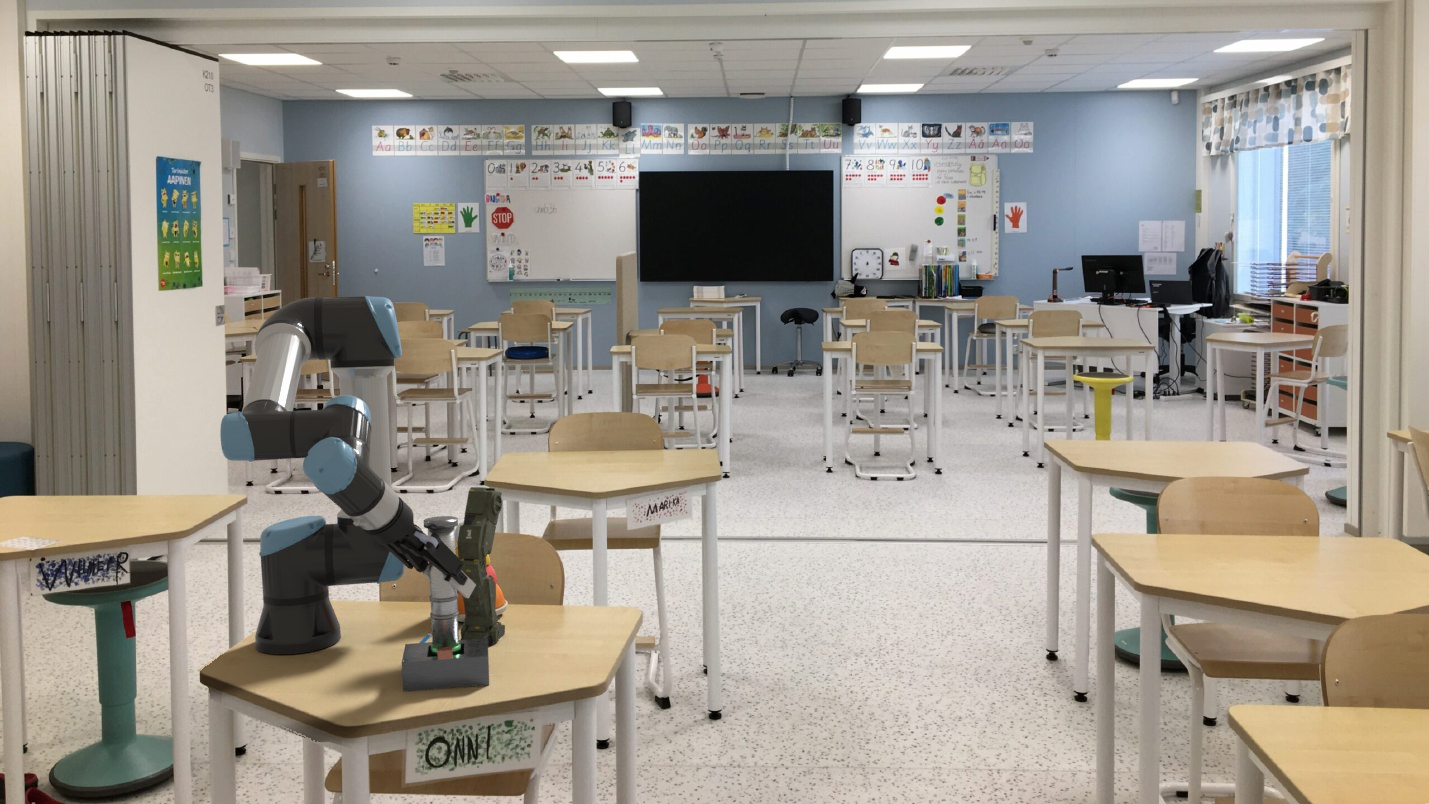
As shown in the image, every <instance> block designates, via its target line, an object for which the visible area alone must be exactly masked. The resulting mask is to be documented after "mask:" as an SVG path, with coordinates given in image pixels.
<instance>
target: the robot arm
mask: <svg viewBox="0 0 1429 804" xmlns="http://www.w3.org/2000/svg"><path fill="white" fill-rule="evenodd" d="M398 324H399V323H398V321H397V315H396V310H395V307H394V304H393V302H392V300H390V299H389V298H387V297H384V296H371V295H369V296H368V295H365V296H364V295H363V296H332V297H330V296H329V297H328V296H327V297H305V298H300V299H297V300H295V301H291V302H289V303H287V304H286V305H283V306H282V307H280V308H279V309H277V310H276V311H275V312H273V313H272V314H271V315H270V316H269V317H268V318H267V319H266V320H265V321H264V322H263V323H262V325H261V326H260V328H259V329H258V331H257V334H256V336H255V341H254V352H255V355H256V360H255V362H254V363H255V364H254V365H253V366H254V367H253V371H252V374H251V378H250V381H249V386H248V388H247V391H246V396H245V399H244V403H243V407H242V410H241V411H237V412H233V413H231V412H230V413H227V414H225V415H224V416H223V417H222V419H221V422H220V430H219V431H220V434H219V436H220V446H221V451H222V454H223V456H224V458H225V459H227V460H228V461H231V462H232V461H233V462H234V461H235V462H236V461H237V462H238V461H240V462H241V461H245V462H246V461H247V462H254V461H269V460H270V461H272V460H287V459H288V460H289V459H303V461H302V462H303V463H302V470H303V473H304V474H305V476H306V477H307V479H309V481H310V482H311V484H313V485H314V487H315V488H316V489H317V490H318V491H319V492H321V493H322V494H324V495H325V496H326V497H328V499H329V500H331V502H332V503H334V504H335V505H336V506H337V507H338V508H340V510H339V511H338V513H337V514H336V520H337V523H327V520H326V518H325V517H324V516H322V515H307V516H305V515H304V516H300V517H295V518H290V519H285V520H282V521H278V522H276V523H272V524H271V525H269V526H267V527H266V528H264V529H263V531H262V532H261V534H260V541H259V542H260V547H259V548H260V549H259V553H258V554H259V557H260V565H261V566H260V567H261V583H262V584H261V585H262V599H263V601H262V602H263V604H262V605H263V606H262V610H261V613H260V618H259V621H258V625H257V627H256V631H255V636H254V637H255V648H256V650H257V651H259V652H261V653H265V654H271V655H296V654H303V653H310V652H315V651H319V650H322V649H326V648H329V647H331V646H333V645H335V644H336V643H338V642H340V640H341V638H342V637H341V635H342V634H341V633H342V632H341V624H340V622H339V619H338V617H337V614H336V612H335V609H334V608H333V605H332V602H331V600H330V593H329V592H330V590H329V589H330V588H329V587H335V586H349V585H359V584H360V585H362V584H376V585H377V584H378V585H379V584H381V583H388V582H395V581H398V580H400V579H401V578H402V577H403V575H404V574H405V569H406V567H407V569H409V570H413V568H414V569H415V570H416V572H418V573H422V574H423V575H424V576H425V577H426V578H427V579H428V580H429V581H430V573H429V563H431V564H432V565H433V566H434V567H436V568H437V569H438V570H439V571H441V572H442V573H443V574H445V575H446V576H445V579H444V580H445V581H448V582H449V583H450V584H452V585H453V586H454V587H455V588H456V589H457V590H458V591H459V592H460V593H461V594H462V595H463V596H464V597H465V598H469V597H470V595H471V593H472V592H473V590H474V588H475V586H476V584H475V583H474V582H473V581H472V580H471V579H470V578H469V577H468V576H467V575H466V574H465V573H464V572H463V571H462V568H463V566H464V563H463V562H462V561H461V560H460V559H459V558H458V557H457V556H456V555H455V554H454V553H453V552H452V551H451V550H450V549H449V548H448V547H447V546H446V545H445V544H444V543H443V542H442V540H441V539H440V537H439V535H438V534H437V533H432V534H431V536H428V534H426V533H424V531H423V530H422V528H421V527H420V526H418V525H417V524H416V523H415V522H414V518H415V517H414V512H413V509H412V508H411V506H409V505H408V503H406V502H405V501H404V500H403V498H401V497H400V496H399V495H398V494H397V493H396V491H395V490H394V489H393V488H392V487H393V486H392V469H391V468H392V467H391V448H390V447H391V445H390V444H391V443H390V421H389V419H390V418H389V417H390V416H389V400H388V399H389V398H388V396H389V393H388V377H389V374H391V373H392V371H393V370H394V369H395V367H396V365H395V363H396V362H395V359H399V358H401V357H403V351H402V343H401V336H400V330H399V326H398ZM311 360H313V361H314V360H319V361H323V360H325V361H327V360H328V361H330V362H329V363H330V365H329V366H330V370H331V371H332V372H333V373H334V374H335V375H336V376H337V377H338V379H339V393H340V394H339V395H337V396H336V397H333V398H330V399H328V400H327V401H326V403H325V404H324V406H323V408H322V409H310V410H309V409H308V410H307V409H306V410H294V406H295V403H296V402H295V401H296V397H297V396H296V395H297V391H298V387H299V383H300V382H299V381H300V377H301V373H302V367H304V366H305V364H306V363H307V362H308V361H311Z"/></svg>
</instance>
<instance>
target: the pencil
mask: <svg viewBox="0 0 1429 804" xmlns="http://www.w3.org/2000/svg"><path fill="white" fill-rule="evenodd" d="M430 638H432V631H430V632H428V634H426V635H425V636H424V638H422V639H421V640H420V642H419V643H426V642H428V640H429V639H430Z"/></svg>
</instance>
